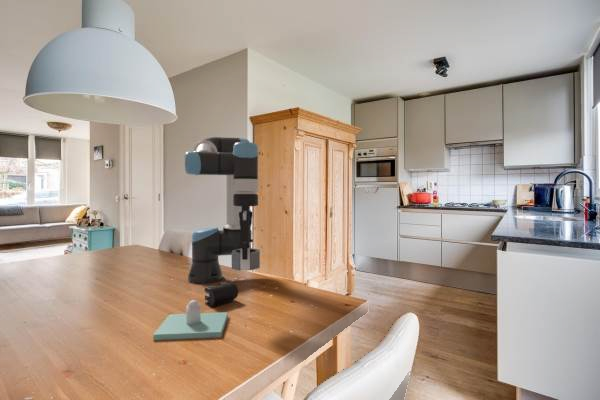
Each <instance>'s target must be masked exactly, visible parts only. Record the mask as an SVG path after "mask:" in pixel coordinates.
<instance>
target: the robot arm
mask: <svg viewBox="0 0 600 400" xmlns="http://www.w3.org/2000/svg"><path fill="white" fill-rule="evenodd" d="M258 150H259V149H258V144H257V143H255V142H251V141H249V140H248V139H247V138H241V137H219V136H214V137H207V138H204V139H201V140H200V141H198V142H197V143H196V144H195V145H194V147H193V151H191V150H190V151H186V152H185V154H184V170H185V173H186V174H187V175H195V176H199V175H200V176H204V175H205V176H209V175H210V176H226V177H225V178H226V185H225V186H226V223H225V224H224V225H223V226H222V229H221V230H220V229H219V228H218V226H215V227H214V226H213V227H204V228H199V229H196V230H194V231H193V232H192V233H191V240H190V241H191V265H190V269H189V272H188V273H187V274H188V275H187V280H188V282H190V283H193V284H209V283H215V282H218V281H220V280H222V279H223V270H222V268H221V264H220V261H219V256H232V251H233V250H236V249H240V270H243V271H251V270H250V248H252V243H253V242H254V239H253V237H252V234H253V232H252V230H251V229H252V224H253V223H252V221H253V211H251V207H257V206H258V205H259V195H258V194H257V193H258V192H259V177H258V176H259V175H258V174H259V172H258V171H259V170H258V169H259V151H258Z"/></svg>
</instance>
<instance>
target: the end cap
mask: <svg viewBox="0 0 600 400" xmlns="http://www.w3.org/2000/svg"><path fill="white" fill-rule="evenodd" d="M204 292H205V293H206V294H208V295H206V294H205V295H204V300H205V301H206V302H204V303H205V305H206V306H209V307H211V308H213V307H216V306H219V305H223V304H225V303H226V304H227V303H229V302H232V301H235V299H237V297H238V296H239V288H238V286H237V284H236V283H235V282H234V281H233V282H229V283H228V282H226V281H223V282H220V283H219V284H218V286H216V285H207V286H205V288H204Z"/></svg>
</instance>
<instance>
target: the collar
mask: <svg viewBox="0 0 600 400" xmlns="http://www.w3.org/2000/svg"><path fill="white" fill-rule="evenodd" d="M260 253H261V250H260V249H258V248H252V247H251V248H250V270H249V271H253V270H257V269H260V266H261V263H260V262H261V259H260V258H261V254H260ZM231 269H232V270H236V271H239V272H241V271H244V270H240V249H236V250H233V251H232V255H231Z"/></svg>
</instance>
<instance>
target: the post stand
mask: <svg viewBox="0 0 600 400" xmlns="http://www.w3.org/2000/svg"><path fill="white" fill-rule="evenodd" d="M201 305H202V304H200V303H199V301H197V300H195V299H193V300H190V301H189V303H188V304H187V305H186V306H185V307H186V309H185V313H171V314H169V315H167V317H166V318H165V319H164V321H163V322H162V323H161V324H160V326H159V327H158V328H157V329H156V330H155V332H154V333H153V334H152V338H153V341H160V340H161V341H162V340H164V341H165V340H184V339H185V340H187V339H206V338H207V339H208V338H209V339H211V338H222V335H223V331H224V329H225V326H226V323H227V320H228V317H229V315H228V314H229V313H228V311H224V312H223V311H222V312H201V311H202V310H201V308H202V307H201Z"/></svg>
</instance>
